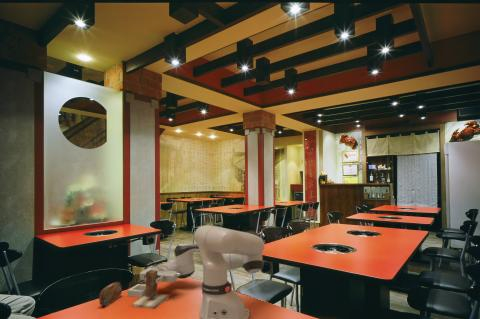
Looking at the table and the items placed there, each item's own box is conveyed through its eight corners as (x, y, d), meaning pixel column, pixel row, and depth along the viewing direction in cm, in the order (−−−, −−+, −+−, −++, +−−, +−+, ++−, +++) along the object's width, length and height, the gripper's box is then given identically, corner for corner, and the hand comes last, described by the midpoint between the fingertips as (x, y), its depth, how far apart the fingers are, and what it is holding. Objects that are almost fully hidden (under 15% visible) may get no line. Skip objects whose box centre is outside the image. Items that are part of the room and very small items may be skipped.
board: (169, 297, 147) (169, 294, 148) (154, 309, 134) (154, 306, 134) (148, 295, 151) (148, 292, 151) (132, 306, 137) (132, 303, 137)
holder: (152, 291, 156) (152, 285, 156) (142, 297, 148) (142, 291, 148) (137, 289, 159) (137, 284, 159) (127, 295, 150) (127, 290, 150)
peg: (157, 294, 144) (157, 270, 145) (152, 297, 140) (153, 272, 141) (150, 293, 145) (150, 269, 146) (145, 297, 141) (146, 272, 142)
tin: (103, 308, 135) (103, 290, 136) (97, 308, 136) (98, 290, 136) (122, 296, 150) (122, 279, 150) (117, 295, 150) (117, 279, 151)
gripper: (182, 279, 153) (169, 289, 139) (148, 276, 158) (133, 285, 145) (182, 267, 153) (169, 276, 140) (148, 265, 158) (133, 273, 145)
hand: (150, 281), depth 142 cm, fingers closed on peg, 4 cm apart
